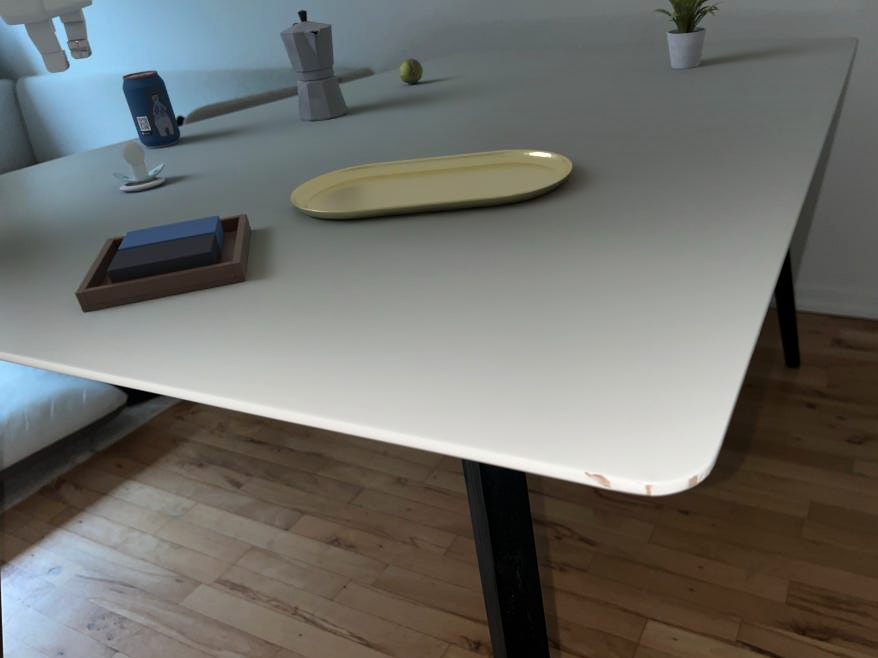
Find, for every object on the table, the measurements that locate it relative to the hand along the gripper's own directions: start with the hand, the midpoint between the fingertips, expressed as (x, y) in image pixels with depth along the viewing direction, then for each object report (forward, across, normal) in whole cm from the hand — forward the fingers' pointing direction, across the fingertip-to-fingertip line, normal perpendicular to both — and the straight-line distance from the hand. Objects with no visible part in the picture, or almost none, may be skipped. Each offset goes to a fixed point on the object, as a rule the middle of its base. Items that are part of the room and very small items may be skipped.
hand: (72, 64), depth 75 cm
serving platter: (+20, -2, +35) cm, 40 cm away
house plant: (+19, -48, +92) cm, 106 cm away
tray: (+20, +8, +5) cm, 22 cm away
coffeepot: (+20, -60, +24) cm, 68 cm away
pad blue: (+20, +5, +5) cm, 21 cm away
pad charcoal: (+20, +11, +6) cm, 23 cm away
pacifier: (+21, -29, -4) cm, 36 cm away
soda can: (+21, -57, -5) cm, 61 cm away
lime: (+20, -76, +44) cm, 90 cm away
